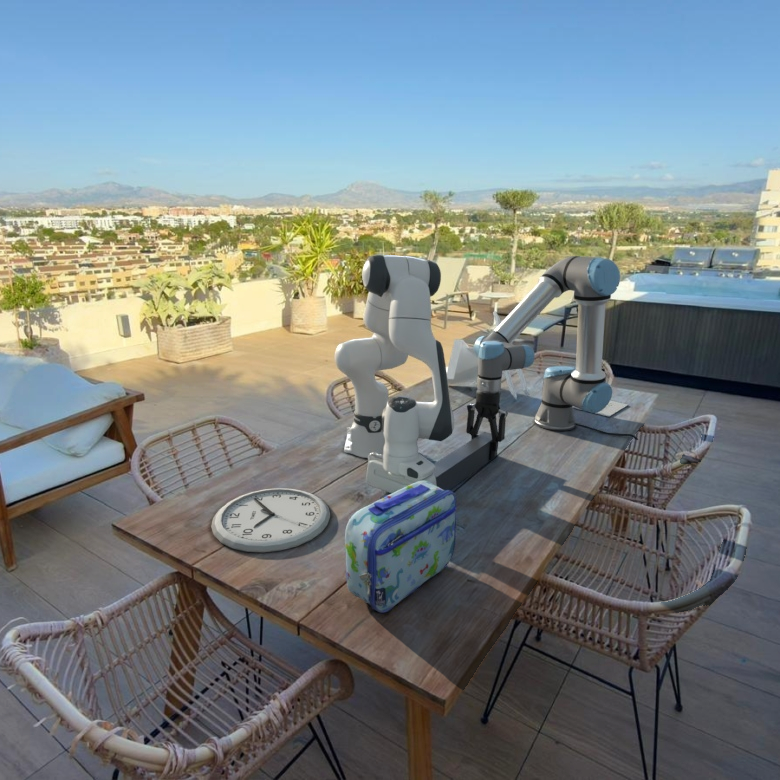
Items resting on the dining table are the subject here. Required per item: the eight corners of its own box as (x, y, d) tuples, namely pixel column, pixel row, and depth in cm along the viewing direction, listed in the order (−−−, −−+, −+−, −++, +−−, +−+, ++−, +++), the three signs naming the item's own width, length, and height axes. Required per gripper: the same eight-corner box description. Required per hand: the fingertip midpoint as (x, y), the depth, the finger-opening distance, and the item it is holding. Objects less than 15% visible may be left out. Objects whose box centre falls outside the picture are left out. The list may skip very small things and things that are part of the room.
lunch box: (374, 626, 100) (375, 530, 93) (338, 598, 107) (337, 508, 101) (459, 568, 117) (465, 484, 111) (424, 547, 124) (427, 467, 118)
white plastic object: (461, 429, 252) (437, 405, 227) (444, 352, 274) (420, 323, 250) (535, 404, 240) (518, 377, 215) (510, 326, 262) (492, 293, 237)
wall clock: (328, 544, 122) (196, 548, 120) (328, 550, 123) (197, 554, 120) (331, 483, 151) (225, 486, 148) (331, 488, 151) (225, 491, 149)
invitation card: (608, 416, 214) (573, 407, 224) (608, 416, 214) (573, 408, 224) (628, 404, 229) (594, 396, 238) (628, 405, 229) (594, 397, 238)
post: (482, 451, 179) (484, 431, 177) (496, 455, 176) (498, 435, 174) (379, 522, 135) (380, 497, 133) (396, 529, 132) (396, 503, 130)
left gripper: (361, 454, 136) (361, 501, 140) (427, 476, 124) (425, 527, 128) (376, 446, 140) (375, 492, 145) (441, 467, 129) (438, 516, 133)
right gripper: (457, 387, 169) (453, 453, 176) (510, 398, 159) (503, 468, 166) (468, 382, 175) (464, 446, 182) (520, 392, 164) (513, 460, 171)
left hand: (399, 509), depth 136 cm, fingers closed on post, 5 cm apart
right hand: (483, 456), depth 174 cm, fingers closed on post, 5 cm apart
